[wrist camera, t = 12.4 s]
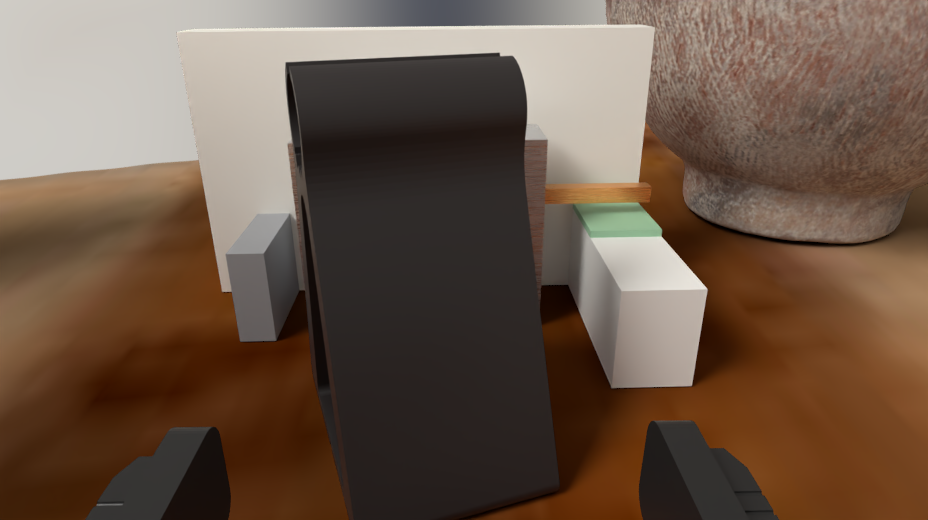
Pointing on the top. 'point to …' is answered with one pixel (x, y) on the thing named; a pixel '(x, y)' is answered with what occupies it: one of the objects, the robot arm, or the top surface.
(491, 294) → the phone stand
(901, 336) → the top surface
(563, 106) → the panel and block assembly
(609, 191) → the block and dowel assembly
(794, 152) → the ceramic pot
